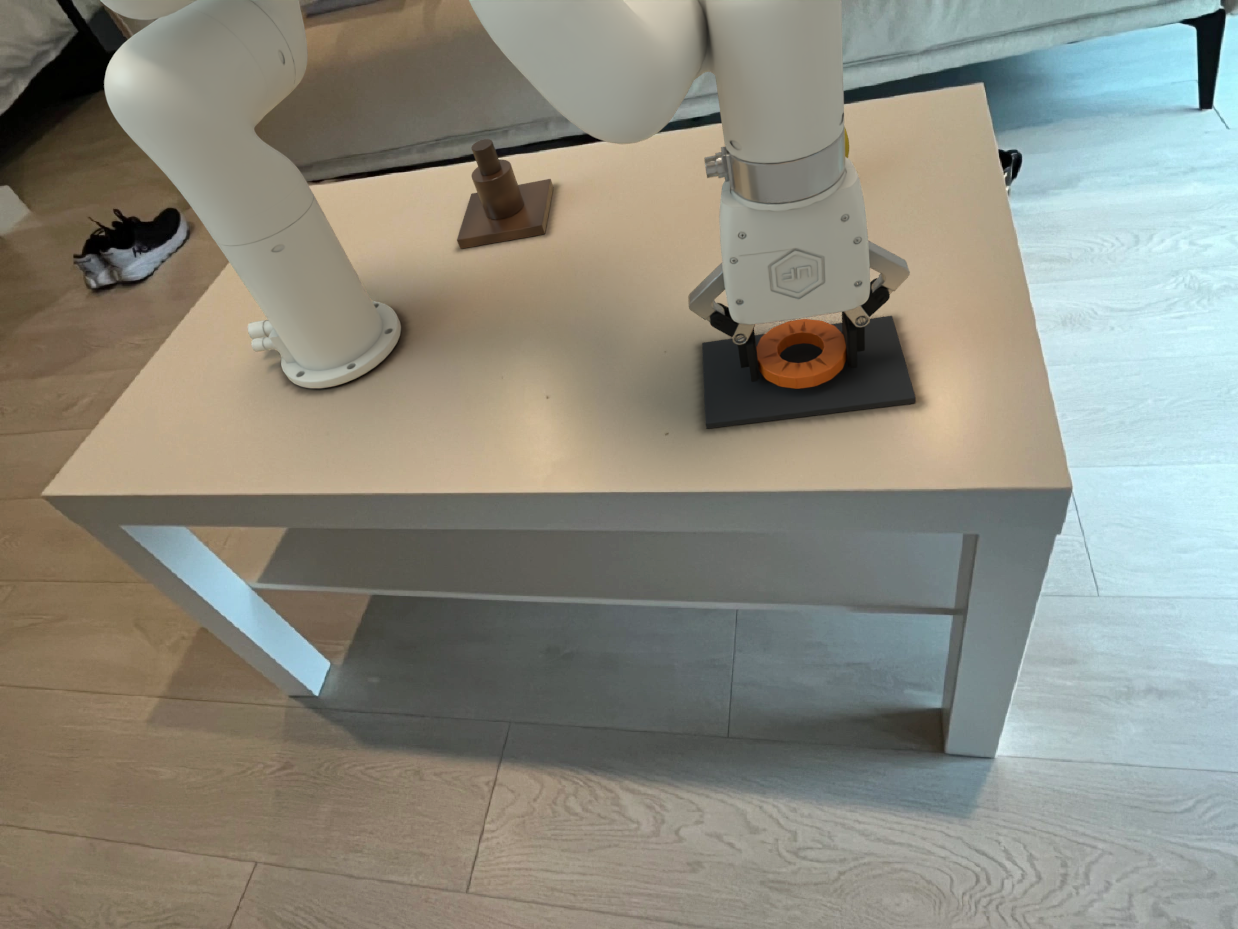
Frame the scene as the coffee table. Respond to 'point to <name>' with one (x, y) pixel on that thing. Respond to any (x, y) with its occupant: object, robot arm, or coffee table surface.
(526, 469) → the coffee table surface
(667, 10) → the robot arm
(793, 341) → the orange flat ring
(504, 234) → the brown stepped peg stand
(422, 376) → the coffee table surface
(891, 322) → the mat
